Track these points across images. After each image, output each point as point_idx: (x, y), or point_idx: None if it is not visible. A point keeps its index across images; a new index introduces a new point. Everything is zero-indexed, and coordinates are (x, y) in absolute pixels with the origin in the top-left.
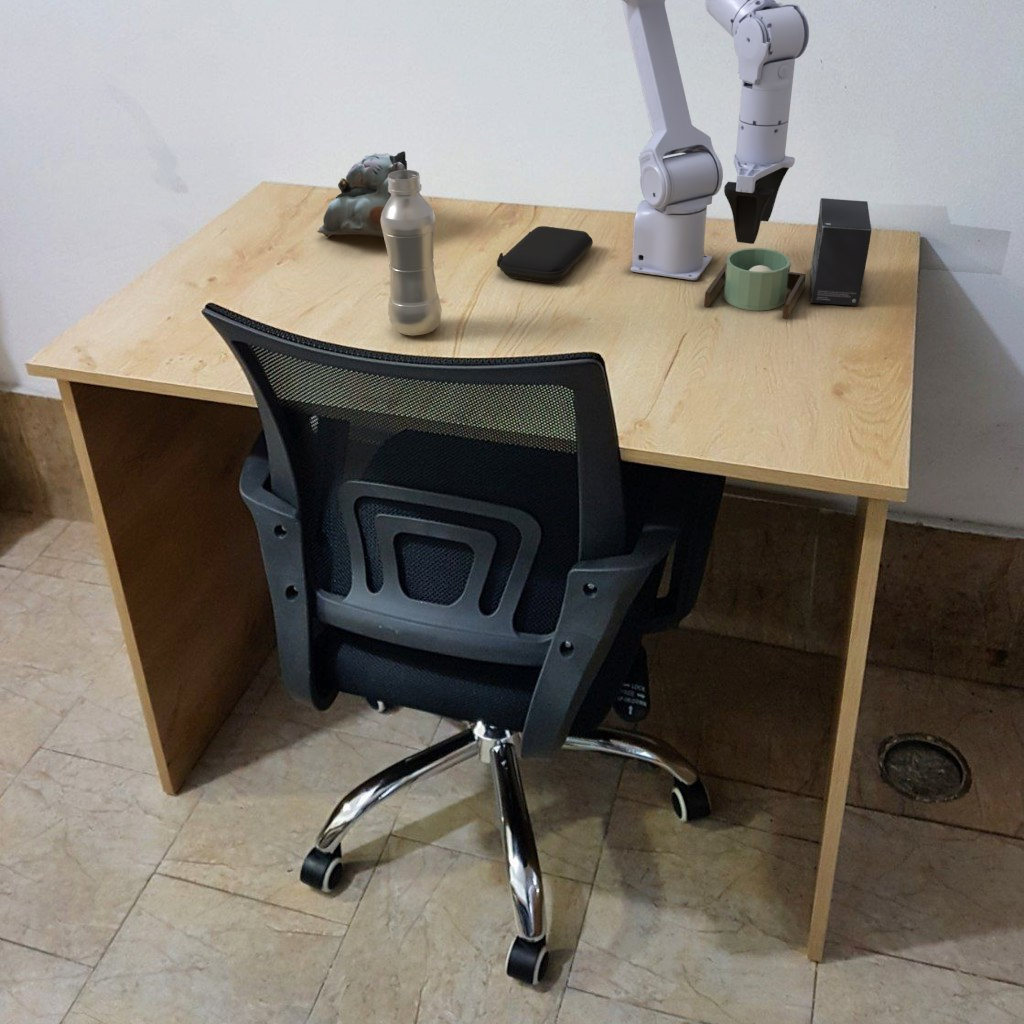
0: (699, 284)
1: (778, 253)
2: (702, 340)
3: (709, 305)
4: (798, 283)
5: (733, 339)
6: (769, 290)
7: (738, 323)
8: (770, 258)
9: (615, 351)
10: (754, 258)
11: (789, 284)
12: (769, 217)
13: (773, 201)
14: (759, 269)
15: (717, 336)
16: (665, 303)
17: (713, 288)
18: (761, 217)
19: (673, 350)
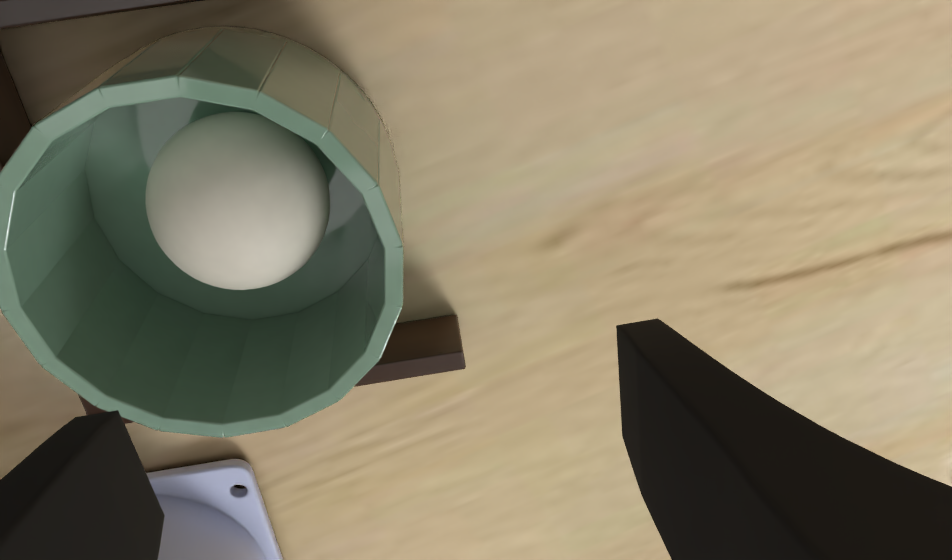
0: (258, 433)
1: (14, 215)
2: (769, 206)
3: (445, 317)
4: (76, 1)
5: (718, 94)
6: (343, 103)
7: (550, 140)
8: (32, 246)
9: (937, 419)
10: (77, 324)
11: (4, 81)
12: (99, 426)
13: (18, 530)
14: (260, 232)
15: (712, 168)
16: (499, 456)
17: (395, 359)
18: (745, 436)
19: (886, 264)
